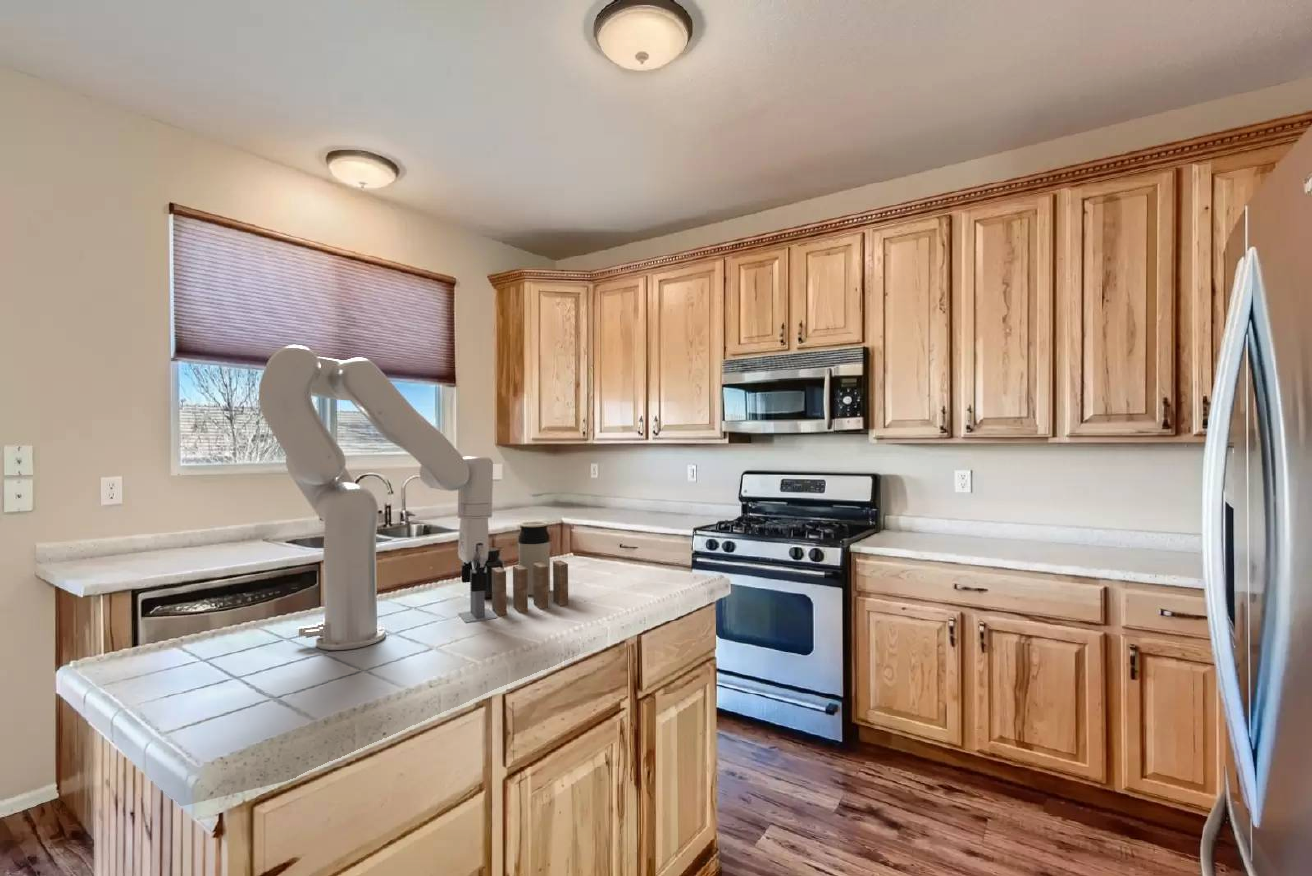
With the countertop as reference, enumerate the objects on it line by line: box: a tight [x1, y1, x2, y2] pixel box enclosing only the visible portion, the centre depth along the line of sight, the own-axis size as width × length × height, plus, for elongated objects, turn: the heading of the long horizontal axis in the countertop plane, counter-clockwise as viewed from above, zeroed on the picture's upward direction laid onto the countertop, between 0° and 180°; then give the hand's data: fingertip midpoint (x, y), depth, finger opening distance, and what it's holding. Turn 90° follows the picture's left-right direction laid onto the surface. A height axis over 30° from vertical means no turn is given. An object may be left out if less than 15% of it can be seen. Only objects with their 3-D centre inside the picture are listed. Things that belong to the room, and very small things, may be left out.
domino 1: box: [469, 569, 486, 618], centre depth 142 cm, size 2×5×10 cm, turn 29°
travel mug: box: [517, 520, 551, 596], centre depth 163 cm, size 8×8×18 cm
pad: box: [457, 608, 498, 624], centre depth 142 cm, size 7×8×1 cm
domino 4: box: [533, 563, 549, 610], centre depth 150 cm, size 2×5×10 cm, turn 29°
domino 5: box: [552, 559, 569, 608], centre depth 152 cm, size 2×5×10 cm, turn 29°
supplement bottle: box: [485, 547, 505, 600], centre depth 160 cm, size 7×7×12 cm
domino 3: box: [512, 564, 529, 614], centre depth 147 cm, size 2×5×10 cm, turn 29°
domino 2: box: [491, 567, 508, 617], centre depth 145 cm, size 2×5×10 cm, turn 29°
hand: (473, 586), depth 142 cm, fingers open, 9 cm apart
